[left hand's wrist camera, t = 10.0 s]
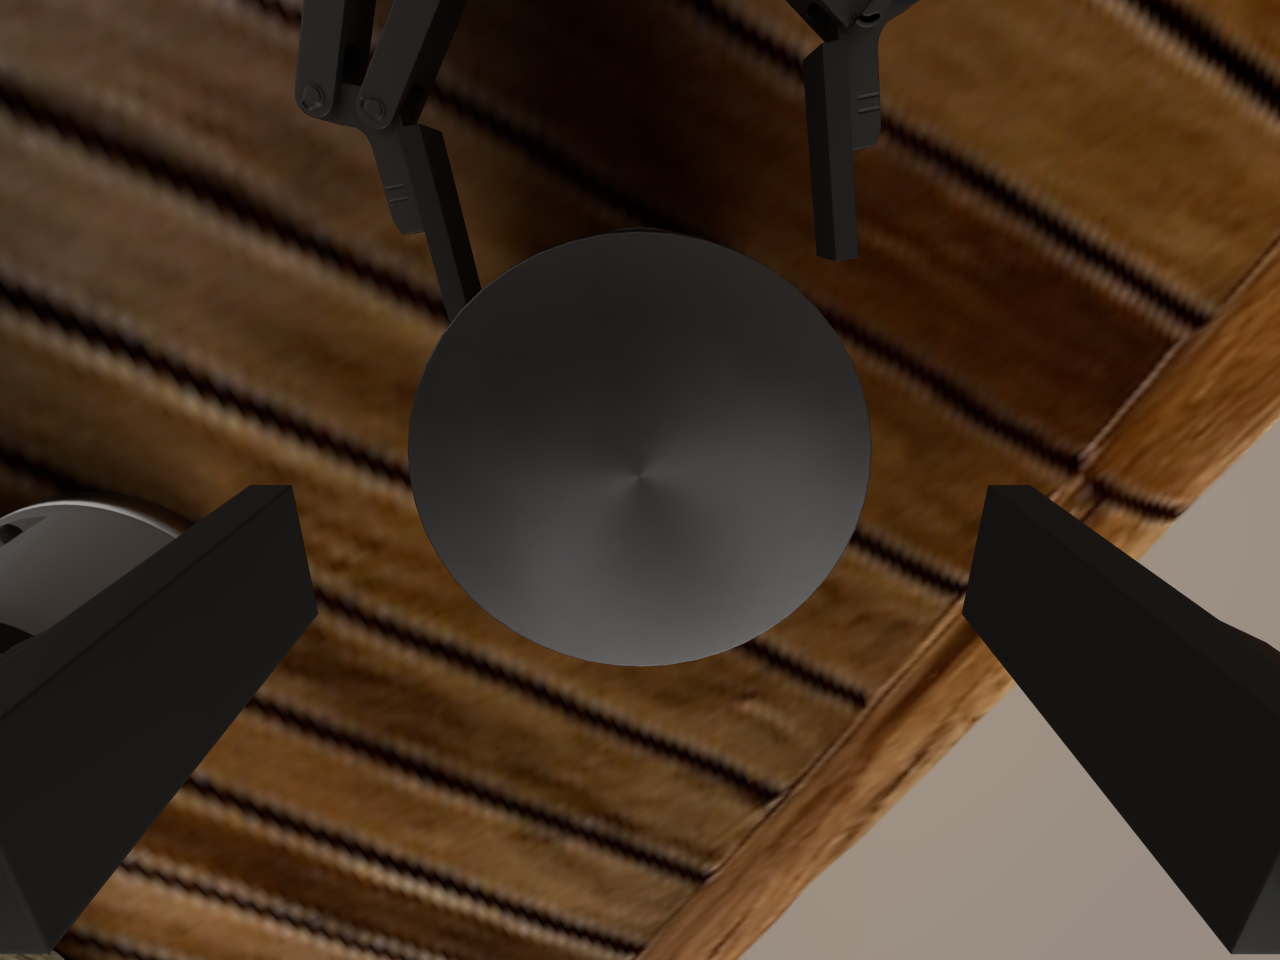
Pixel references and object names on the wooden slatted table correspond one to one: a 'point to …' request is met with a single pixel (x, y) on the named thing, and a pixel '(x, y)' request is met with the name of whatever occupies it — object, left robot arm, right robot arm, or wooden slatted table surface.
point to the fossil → (31, 956)
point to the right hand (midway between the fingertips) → (650, 291)
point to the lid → (639, 448)
